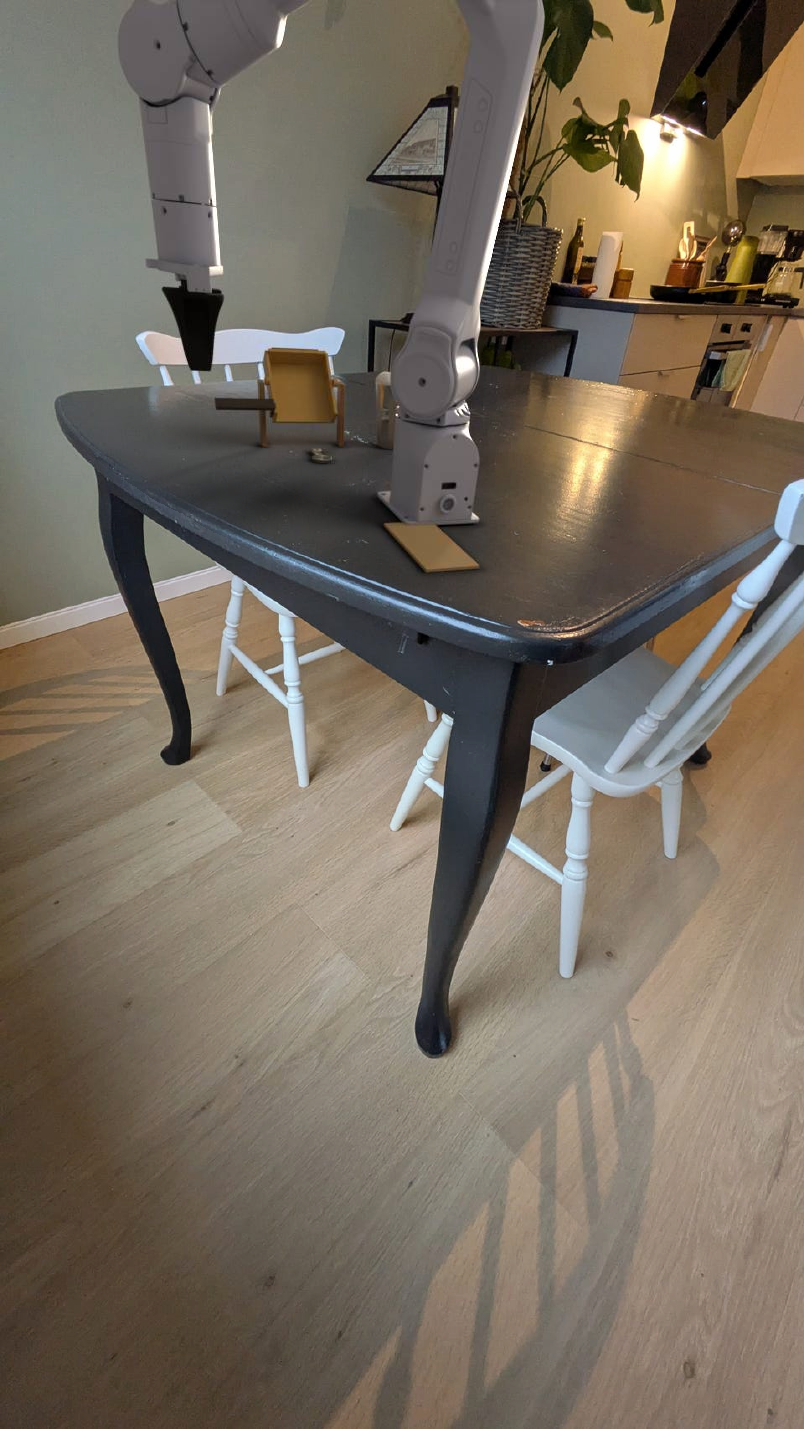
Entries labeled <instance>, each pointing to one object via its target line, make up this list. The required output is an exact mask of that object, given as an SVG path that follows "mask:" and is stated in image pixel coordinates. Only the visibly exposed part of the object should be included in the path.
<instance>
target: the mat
mask: <svg viewBox="0 0 804 1429" xmlns="http://www.w3.org/2000/svg"><path fill="white" fill-rule="evenodd" d="M383 527H384V528H385V529H386V530H387V532H389V534H390V535H391V536H392V537H393V538H394V539H395V540H396V541H397V542H398V543H399V545H400V546H401V547H402V548H403V549H404V551H406V552H407V553H408V555H409V556H410V557H411V558H412V559H413V560H414V561H415V562H416V563H417V564H418V565H419V566H420V568H421V569H422V570H423V571H424V572H425V573H437V572H440V573H441V572H451V571H452V572H453V571H463V570H464V571H465V570H476V569H477V570H479V569H480V564H479V563H478V562H476V561H475V560H474V559H473V558H472V557H471V556H469V554H468V553H467V552H465V551H464V550H463V548H461V547H460V546H459V545H458V544H457V543H456V542H455V541H454V540H452V539H451V538H450V537H449V535H448V534H446V533H445V532H443V531H442V529H441V528H439V527H438V525H435V524H433V525H413V526H409V525H406V524H404V523H403V522H402V521H401V522H384V523H383Z"/></svg>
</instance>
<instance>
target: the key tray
mask: <svg viewBox="0 0 804 1429" xmlns="http://www.w3.org/2000/svg"><path fill="white" fill-rule="evenodd" d="M262 366H263V374H264V378H263V381H264V384H265V386H266V392H267V398H265V399H258V398H246V397H245V398H242V397H239V398H238V397H214V406H215V410H216V411H259V410H264V411H266V412H268V411H269V418H271V421H272V424H335V421H336V420H337V414H338V412H337V399H336V395H335V389H334V388H337V387H338V382H339V378H337V377H333V378H332V376H333V375H332V373H331V371H332V370H331V365H330V358H329V353H328V352H326V350H319V349H318V348H317V349H316V348H315V349H314V348H296V347H295V348H291V347H270V348H268V349H267V350H266V349H265V350H264V352H263V358H262Z"/></svg>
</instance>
